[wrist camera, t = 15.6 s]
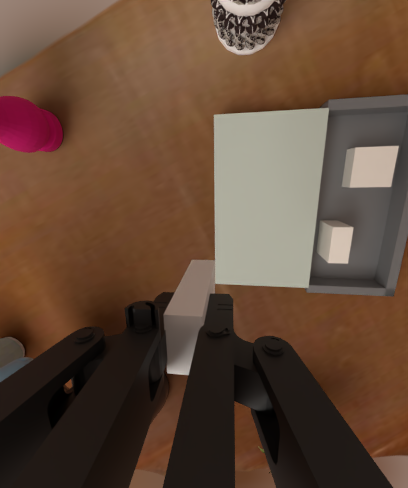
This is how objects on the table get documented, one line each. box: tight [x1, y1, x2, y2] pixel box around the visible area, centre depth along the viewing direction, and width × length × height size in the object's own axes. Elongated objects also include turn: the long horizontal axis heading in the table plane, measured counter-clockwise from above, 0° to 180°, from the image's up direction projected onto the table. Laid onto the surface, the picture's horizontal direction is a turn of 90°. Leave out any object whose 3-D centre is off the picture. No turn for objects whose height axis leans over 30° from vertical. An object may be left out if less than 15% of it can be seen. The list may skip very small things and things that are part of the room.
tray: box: [305, 95, 408, 296], centre depth 32 cm, size 26×12×4 cm, turn 1°
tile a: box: [316, 220, 354, 264], centre depth 33 cm, size 5×5×2 cm
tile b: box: [342, 146, 399, 188], centre depth 31 cm, size 5×5×2 cm
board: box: [214, 108, 329, 288], centre depth 34 cm, size 24×14×4 cm, turn 1°
